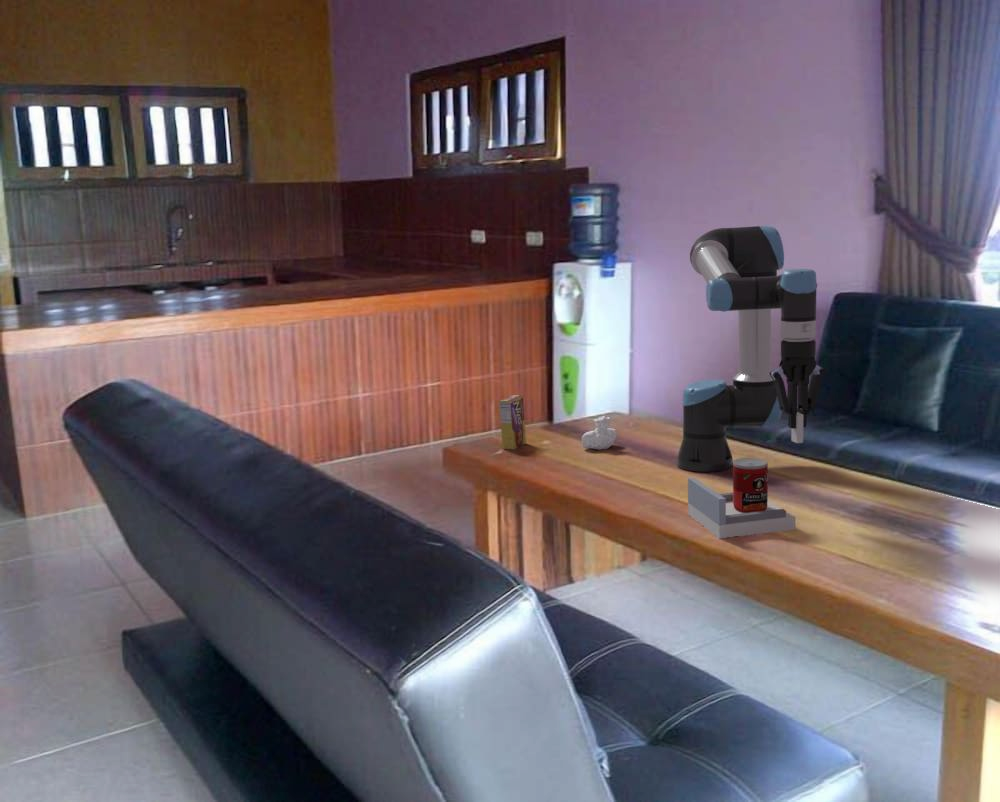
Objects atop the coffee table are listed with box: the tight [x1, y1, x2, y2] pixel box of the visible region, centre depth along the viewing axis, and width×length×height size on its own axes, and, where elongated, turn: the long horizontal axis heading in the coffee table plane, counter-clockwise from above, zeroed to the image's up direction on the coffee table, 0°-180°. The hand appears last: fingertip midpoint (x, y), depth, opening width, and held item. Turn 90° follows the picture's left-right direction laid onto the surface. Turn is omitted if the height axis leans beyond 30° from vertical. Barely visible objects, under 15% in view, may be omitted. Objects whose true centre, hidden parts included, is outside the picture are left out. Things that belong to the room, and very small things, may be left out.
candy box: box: [498, 394, 527, 451], centre depth 313 cm, size 9×4×15 cm, turn 152°
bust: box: [581, 415, 618, 451], centre depth 305 cm, size 12×8×11 cm
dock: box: [687, 477, 796, 540], centre depth 232 cm, size 18×18×9 cm
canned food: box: [732, 457, 769, 513], centre depth 232 cm, size 8×8×11 cm
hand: (797, 441), depth 232 cm, fingers closed
